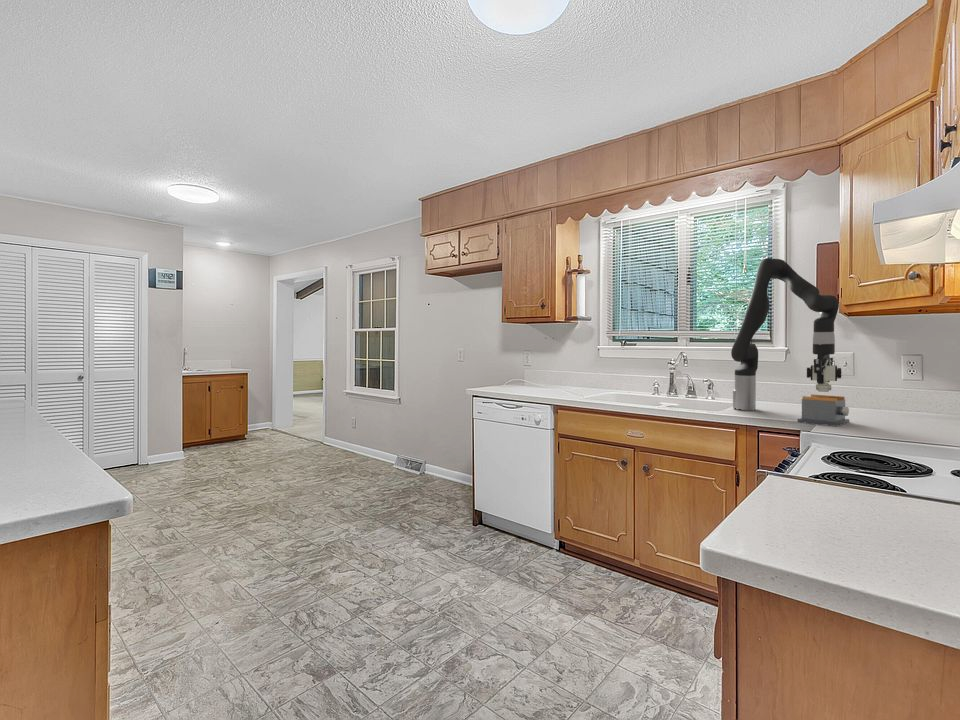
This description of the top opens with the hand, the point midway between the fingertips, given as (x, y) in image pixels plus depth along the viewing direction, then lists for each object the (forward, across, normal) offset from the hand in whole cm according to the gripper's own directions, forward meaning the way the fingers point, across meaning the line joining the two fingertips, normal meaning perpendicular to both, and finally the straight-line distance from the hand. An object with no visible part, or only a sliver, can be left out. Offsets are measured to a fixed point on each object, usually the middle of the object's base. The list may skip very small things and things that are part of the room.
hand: (823, 382), depth 201 cm
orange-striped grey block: (+17, 0, 0) cm, 17 cm away
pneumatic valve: (+4, 0, 0) cm, 4 cm away
